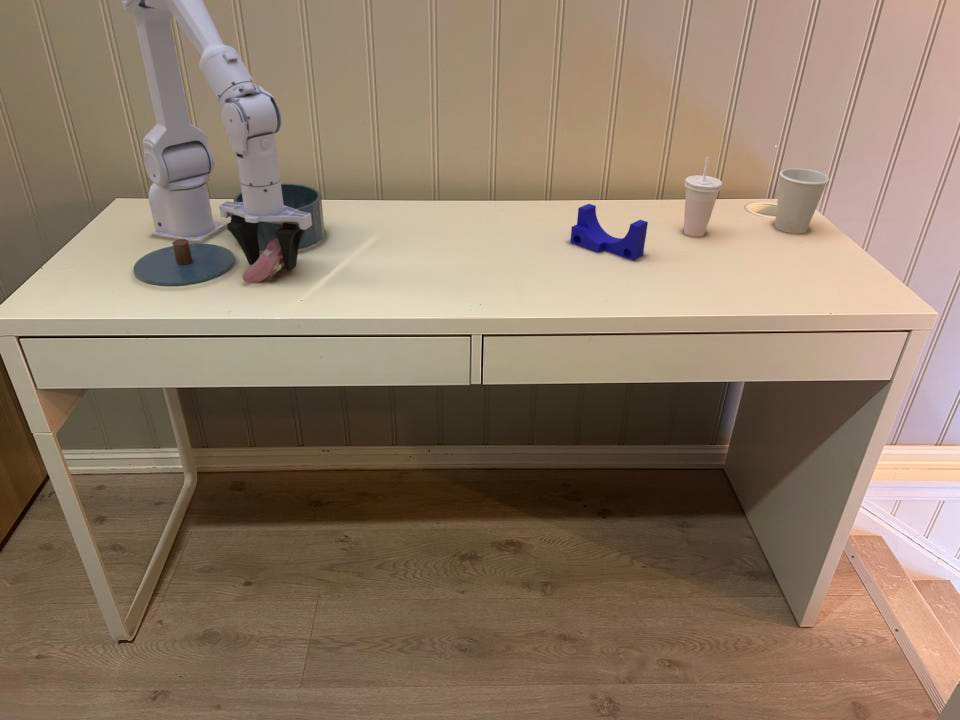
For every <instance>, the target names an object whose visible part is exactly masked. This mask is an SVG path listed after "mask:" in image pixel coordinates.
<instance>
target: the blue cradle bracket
mask: <svg viewBox="0 0 960 720" xmlns="http://www.w3.org/2000/svg"><path fill="white" fill-rule="evenodd" d="M648 224H649V222H648V221H646V220H642V219H639V220H636V221H634V222H632V223H630V224H629V227H628V228H629V229H628V231H627V233H626V234H625V236H624V237H622V238H621V237H615V236H613V235H611V234H609V233H607V232H606V231H605V229H603V227H602V226H601V224H600V222H599V220H598V217H597V207H596V205H595V204H591V203H587V204H584V205H582V206H579V207H578V209H577V219H576V224H574V225H572V226H571V231H570V241H569V243H570V244H572V245H575V246H579V247H581V248H584V249H587V250H590V251H593V252H595V253H597V254H599V253H601V252H603V251H604V252H607V253H610V254H613V255H616V256H619V257H622V258H625V259H627V260H631V261H635V260H637V259H639V258H641V257H643V256H644V252H645V251H644V250H645V245H646V238H647V233H648V232H647V231H648Z"/></svg>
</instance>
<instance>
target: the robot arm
mask: <svg viewBox="0 0 960 720" xmlns="http://www.w3.org/2000/svg"><path fill="white" fill-rule="evenodd" d="M120 2H121V4H122V8H123V10H124V12H127V13H128V14H132V15H133V20H134V24H135V30H136V33H137V38H138V44H139V47H140V52H141V56H142V57H141V58H142V61H143V66H144V71H145V75H146V81H147V85H148V91H149V93H150V99H151V104H152V108H153V113H154V117H155V122H156V124H155V125H154V126H153V127H152V128H151V129H150V131H149V132H148V133H147V134H146V135H144V137H143V138H142V146H143V165H144V169H145V171H146V174H147V176H148V178H149V179H150V180H151V182H152V184H151V185H150V186H149V187H150V188H149V190H148V203H149V209H150V213H151V217H152V221H153V226H154V230H155V231H153V232H152V234H153V235H158V236H165V237H171V238H177V239H186V240H191V241H197V242H198V241H201V240H203V239H204V238H206V237H208V236H209V235H211V234H213V233H214V232H216V231H218V230H220V229H221V228H222V227H224V226H226V228H227V230H228V232H230V234H231V235H232V236H233V237H234V239H236V242H237V243H238V244H239V246H240V248H241V250H242V252H243V254H244V256H245V258H246V261H247V263H248V265H249V266H252V265H253V264H254V263H255V262H256V261H257V260H258V258H259V257H260V255H261V251H259V244H258V222H259V221H260V222H269V223H276V224H282V225H283V227H281V228H280V229H278V230H277V231H275V235H276V237H277V239H278V241H279V243H280V246H281V250H282V254H283V261H284V267H285V268H284V267H283V268H284V269H285V271H286V272H291V271H292V270H294V269H295V268H296V267H297V263H298V262H297V261H298V253H299V250H300V249H299V245H300V242H301V239H302V236H303V234H304V231H305V230H306V229H307V228H309V227H310V226H312V220H311V213H306V212H302V211H299V210H296V209H293V208H290V207H288V206H285V205H284V204H283V197H282V189H281V184H282V181H281V175H280V174H281V172H280V167H279V158H278V150H277V143H276V142H277V141H276V135H275V134H278V133H279V131H280V130H281V128H282V113H281V110H280V106H279V105H278V102H277V101H276V97H274V95H273V94H272V93H271V92H269V91H267V90H265V89H264V88H263V86H261V85H257V83H256V82H255V80H254V78H253V77H252V75H251V73H250V71H249V70H248V68H247V66H246V64H245V63H244V61H243V59H242V58H241V56H240V55H239V53H238V51H237V50H236V48H235V47H233V46H230V45H226V44H224V42H223V40H222V37H221V35H220V34H219V31H218V28H216V27H217V26H216V25H215V23H214V21H213V19H212V17H211V14H210V12H209V10H208V9H207V5H206V3H205V2H204V0H120ZM172 17H174V19H175V20H176V22H177V23H178V24H179V26H180V27H181V29H182V30H183V32H184V33H185V35H186V36H187V38H188V39H189V40H190V42H191V43H192V45H193V46H194V47H195V49H196V51H197V52H198V53H199V56H200V60H199V63H198V68H199V71H200V72H201V74H202V75H203V77H204V79H205V81H206V83H207V84H208V86H209V88H210V90H211V92H212V93H213V95H214V96H215V98H216V100H217V101H218V103H219V104H220V107H221V115H220V118H221V124H222V126H223V129H224V130H225V133H226V134H227V137H228V140H229V141H228V142H229V146H230V147H231V150H232V152H234V153H235V158H236V164H237V171H238V177H239V183H240V191H241V192H242V197H243V202H234V201H227V200H226V201H224V202H222V203H221V204H219V205H218V209H219V215H220V218H222V219H223V218H224V219H228V218H230V222H228V223H227V224H225V223H222V222H221V223H220V222H214V217H213V211H212V206H211V200H210V196H209V195H210V194H209V190H208V184H207V182H210V181H211V178H210V175H212V174H213V172H214V168H215V158H214V154H213V151H212V149H211V147H210V145H209V141H208V137H207V133H205V132H204V131H203V130H202V129H200V128H199V127H198V126H195V125H193V124H191V122H190V117H189V116H190V115H189V112H188V106H187V101H186V96H185V90H184V85H183V80H182V75H181V70H180V64H179V59H178V53H177V49H176V44H175V38H174V33H173V28H172V23H171V19H172ZM298 249H299V250H298Z"/></svg>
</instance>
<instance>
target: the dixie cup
mask: <svg viewBox="0 0 960 720" xmlns="http://www.w3.org/2000/svg"><path fill="white" fill-rule="evenodd" d="M779 176H780V177H779V183H778V184H779V186H778V193H777V202H776V212H775V220H774V228H775V229H776V230H779V231H781V232H785V233H788V234H804V233H807V231H808V228H809V227H810V224H811V221H812V219H813V217H814V214H815V211H816V210H817V207H818V205H819V202H820V200H821V198H822V195H823V193H824V190H825V188H826V186H827V183H828V182H829V181H830V177H829V176H828V175H827V174H825V173H823V172H821V171H817V170H814V169H809V168H802V167H791V168H785V169H782V170H781V171H780V172H779Z"/></svg>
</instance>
